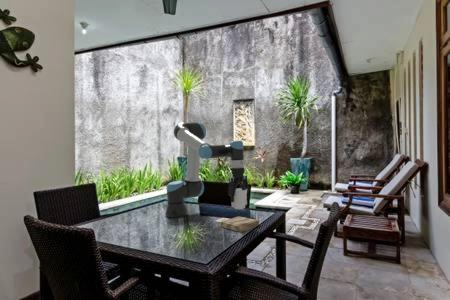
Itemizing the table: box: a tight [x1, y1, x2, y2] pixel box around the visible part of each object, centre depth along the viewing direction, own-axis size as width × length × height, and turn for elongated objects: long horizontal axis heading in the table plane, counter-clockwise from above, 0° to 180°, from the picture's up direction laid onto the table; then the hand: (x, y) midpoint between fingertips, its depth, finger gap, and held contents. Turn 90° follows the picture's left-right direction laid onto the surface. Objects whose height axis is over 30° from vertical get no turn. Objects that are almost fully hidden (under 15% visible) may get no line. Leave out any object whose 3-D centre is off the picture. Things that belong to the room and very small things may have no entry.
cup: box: [232, 187, 248, 210], centre depth 175 cm, size 10×10×11 cm
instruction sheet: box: [214, 217, 230, 223], centre depth 189 cm, size 12×9×1 cm
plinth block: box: [220, 216, 260, 233], centre depth 176 cm, size 16×16×3 cm
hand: (239, 205), depth 175 cm, fingers closed on cup, 9 cm apart
